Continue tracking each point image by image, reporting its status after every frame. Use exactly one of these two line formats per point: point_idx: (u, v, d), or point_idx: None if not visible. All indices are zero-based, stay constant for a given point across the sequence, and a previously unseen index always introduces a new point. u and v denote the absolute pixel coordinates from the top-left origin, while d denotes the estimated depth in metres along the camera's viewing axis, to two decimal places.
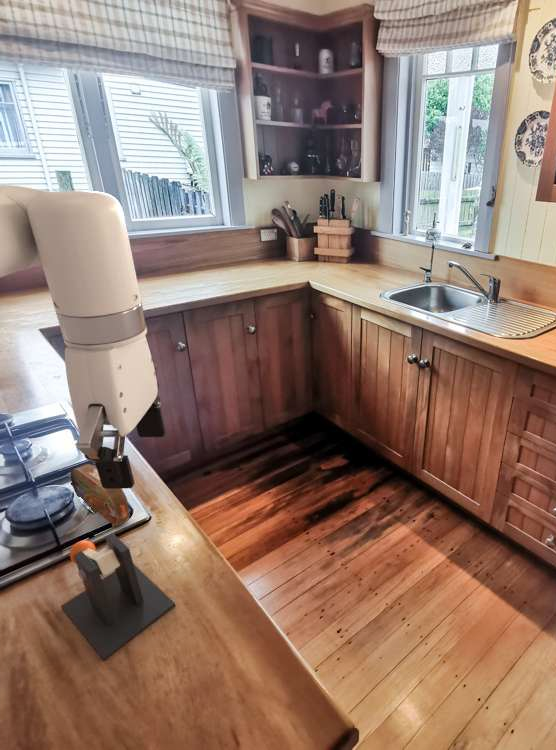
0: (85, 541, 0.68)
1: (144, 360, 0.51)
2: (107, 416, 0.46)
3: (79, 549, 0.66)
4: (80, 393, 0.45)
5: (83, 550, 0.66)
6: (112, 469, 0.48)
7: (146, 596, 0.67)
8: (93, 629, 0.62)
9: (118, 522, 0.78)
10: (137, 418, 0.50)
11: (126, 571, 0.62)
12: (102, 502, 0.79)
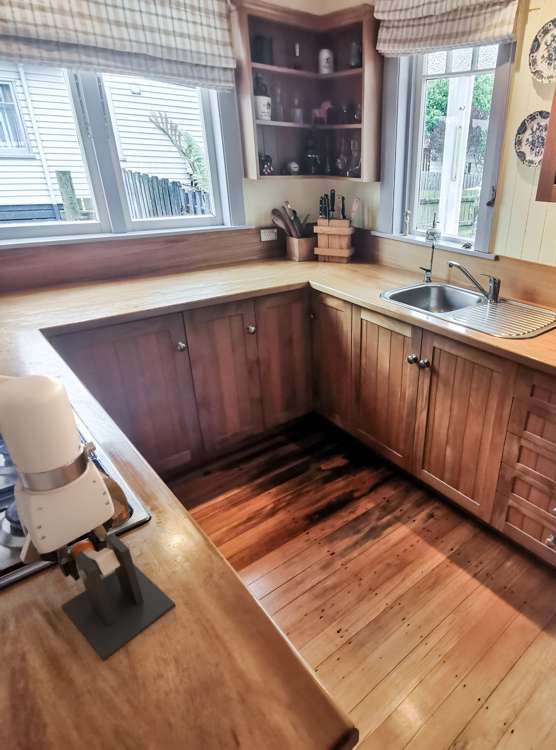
0: (85, 541, 0.68)
1: (85, 497, 0.63)
2: (30, 538, 0.60)
3: (79, 549, 0.66)
4: (19, 515, 0.60)
5: (83, 550, 0.66)
6: (61, 565, 0.65)
7: (146, 596, 0.67)
8: (93, 629, 0.62)
9: (118, 522, 0.78)
10: (65, 540, 0.63)
11: (126, 571, 0.62)
12: None
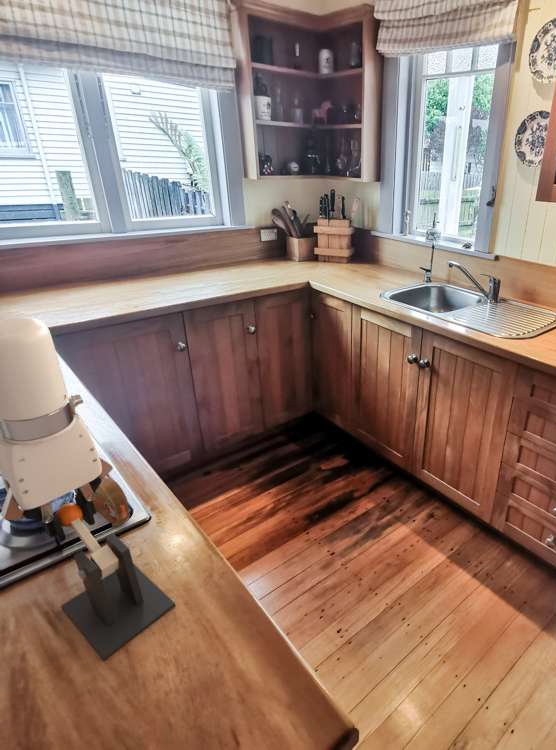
0: (76, 508, 0.64)
1: (71, 452, 0.60)
2: (12, 492, 0.57)
3: (70, 518, 0.63)
4: (0, 468, 0.57)
5: (73, 520, 0.64)
6: (45, 525, 0.62)
7: (146, 596, 0.67)
8: (93, 629, 0.62)
9: (118, 522, 0.78)
10: (49, 497, 0.59)
11: (126, 571, 0.62)
12: (102, 502, 0.79)
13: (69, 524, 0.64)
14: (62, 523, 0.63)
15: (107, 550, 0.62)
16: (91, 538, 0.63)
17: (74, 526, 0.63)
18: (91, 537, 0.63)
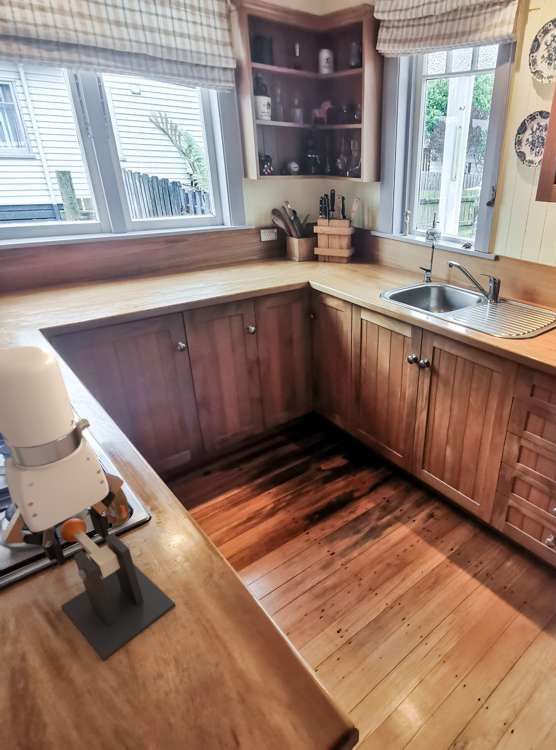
0: (78, 521, 0.66)
1: (78, 475, 0.61)
2: (22, 515, 0.58)
3: (72, 530, 0.65)
4: (10, 492, 0.58)
5: (76, 532, 0.65)
6: (45, 549, 0.62)
7: (146, 596, 0.67)
8: (93, 629, 0.62)
9: (118, 522, 0.78)
10: (58, 519, 0.61)
11: (126, 571, 0.62)
12: None
13: (72, 537, 0.65)
14: (66, 536, 0.65)
15: (105, 549, 0.62)
16: (92, 544, 0.63)
17: (76, 537, 0.65)
18: (92, 543, 0.64)
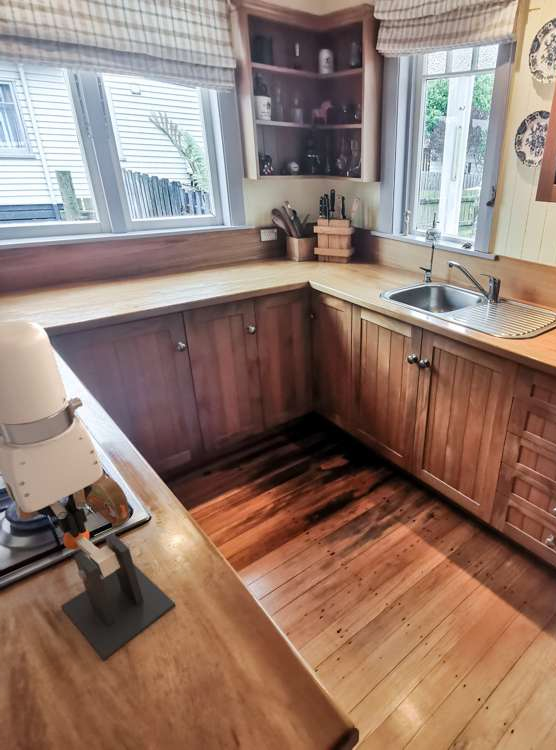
0: None
1: (71, 454, 0.60)
2: (13, 495, 0.57)
3: None
4: (1, 472, 0.57)
5: (78, 538, 0.66)
6: (59, 521, 0.63)
7: (146, 596, 0.67)
8: (93, 629, 0.62)
9: (118, 522, 0.78)
10: (50, 500, 0.60)
11: (126, 571, 0.62)
12: (102, 502, 0.79)
13: (75, 543, 0.65)
14: (68, 543, 0.65)
15: (105, 549, 0.62)
16: (93, 547, 0.64)
17: (78, 542, 0.65)
18: (93, 546, 0.64)
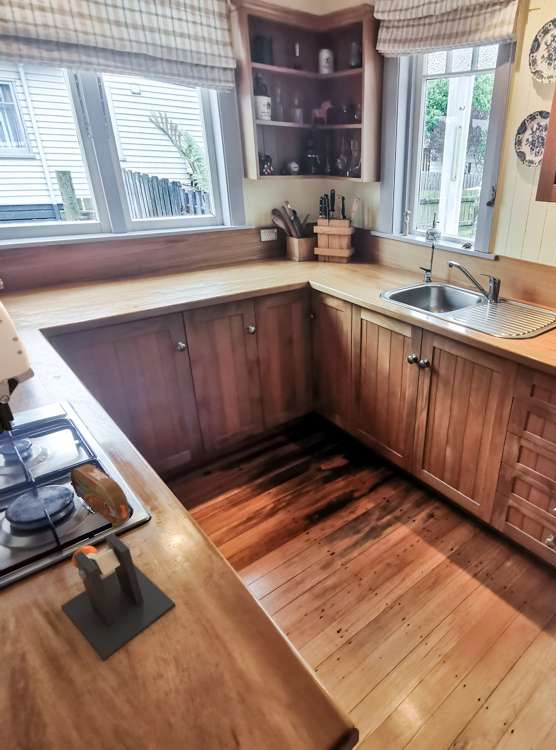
0: (87, 546, 0.68)
1: None
2: None
3: None
4: None
5: (85, 554, 0.66)
6: None
7: (146, 596, 0.67)
8: (93, 629, 0.62)
9: (118, 522, 0.78)
10: None
11: (126, 571, 0.62)
12: (102, 502, 0.79)
13: None
14: None
15: (104, 550, 0.62)
16: None
17: None
18: None
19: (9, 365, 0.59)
